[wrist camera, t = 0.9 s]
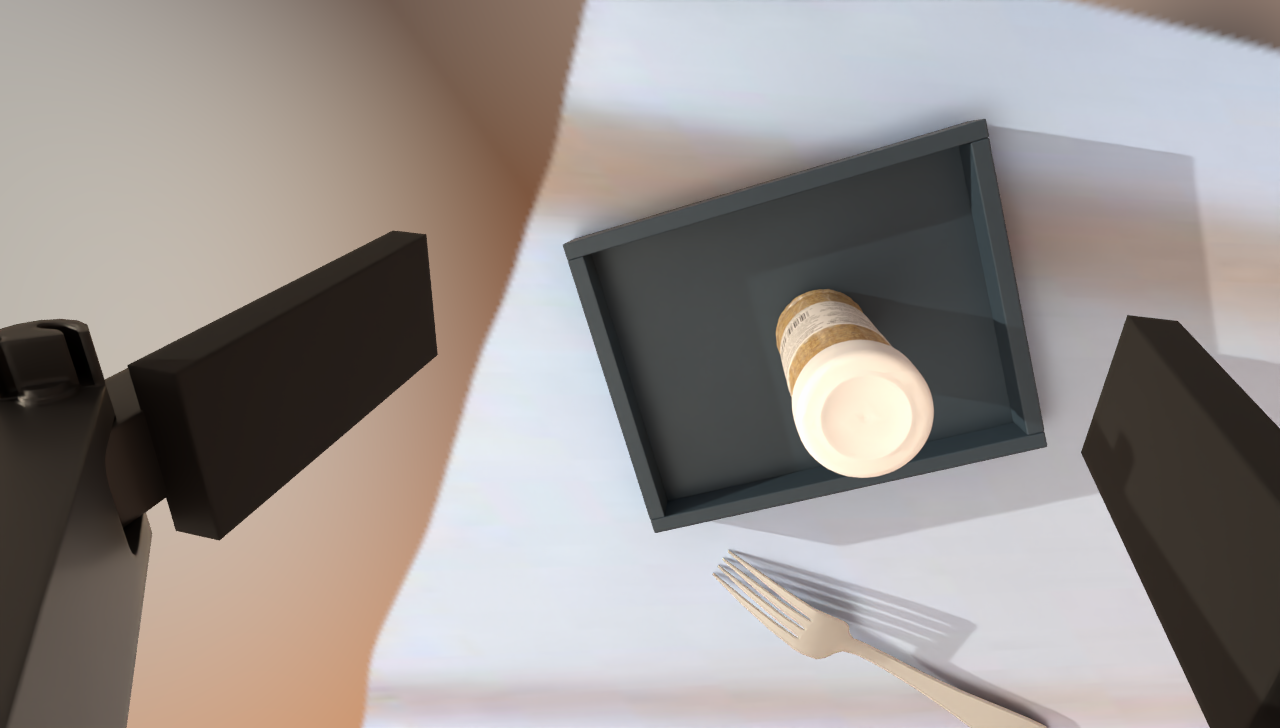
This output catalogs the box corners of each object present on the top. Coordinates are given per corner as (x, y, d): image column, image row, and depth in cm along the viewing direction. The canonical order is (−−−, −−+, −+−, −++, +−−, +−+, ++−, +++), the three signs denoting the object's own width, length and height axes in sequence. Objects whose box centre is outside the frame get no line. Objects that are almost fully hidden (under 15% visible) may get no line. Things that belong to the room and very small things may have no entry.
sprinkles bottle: (819, 393, 39) (862, 508, 26) (755, 332, 39) (766, 418, 26) (887, 330, 38) (967, 418, 25) (822, 266, 38) (869, 323, 25)
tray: (572, 239, 39) (562, 244, 37) (968, 121, 36) (985, 118, 33) (658, 512, 43) (654, 533, 40) (1028, 429, 39) (1048, 447, 37)
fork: (1007, 729, 46) (1029, 766, 43) (707, 581, 43) (711, 611, 41) (1037, 695, 45) (1060, 731, 43) (733, 542, 42) (738, 571, 40)
